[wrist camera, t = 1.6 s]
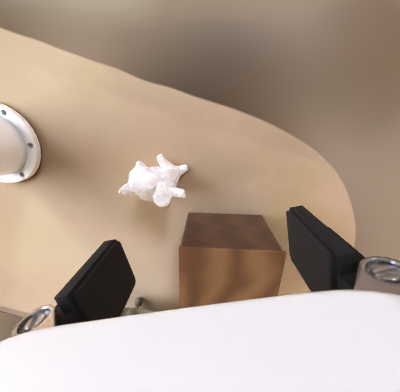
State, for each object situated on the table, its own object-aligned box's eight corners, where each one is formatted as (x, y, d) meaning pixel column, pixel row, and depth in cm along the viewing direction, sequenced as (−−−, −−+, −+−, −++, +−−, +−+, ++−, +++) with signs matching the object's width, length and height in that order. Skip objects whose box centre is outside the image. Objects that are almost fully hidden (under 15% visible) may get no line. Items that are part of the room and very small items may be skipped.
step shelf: (187, 304, 43) (180, 362, 32) (187, 211, 35) (178, 248, 25) (249, 308, 42) (262, 367, 32) (263, 214, 35) (286, 252, 24)
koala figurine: (194, 154, 32) (186, 171, 20) (192, 194, 34) (184, 228, 23) (142, 151, 32) (105, 165, 20) (143, 190, 34) (111, 223, 23)
